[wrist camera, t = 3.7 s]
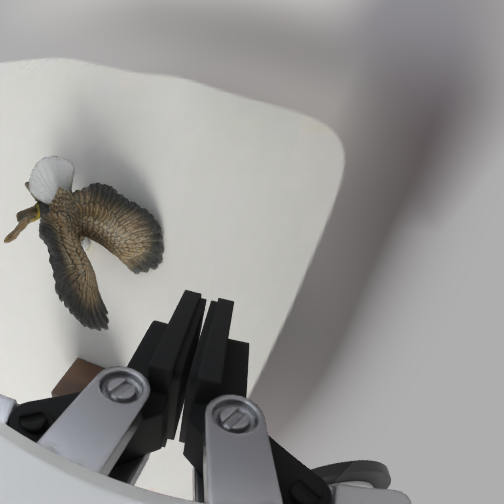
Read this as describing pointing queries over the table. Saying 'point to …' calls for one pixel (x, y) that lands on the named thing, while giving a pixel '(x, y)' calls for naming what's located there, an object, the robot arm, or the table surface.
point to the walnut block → (76, 378)
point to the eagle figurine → (86, 234)
